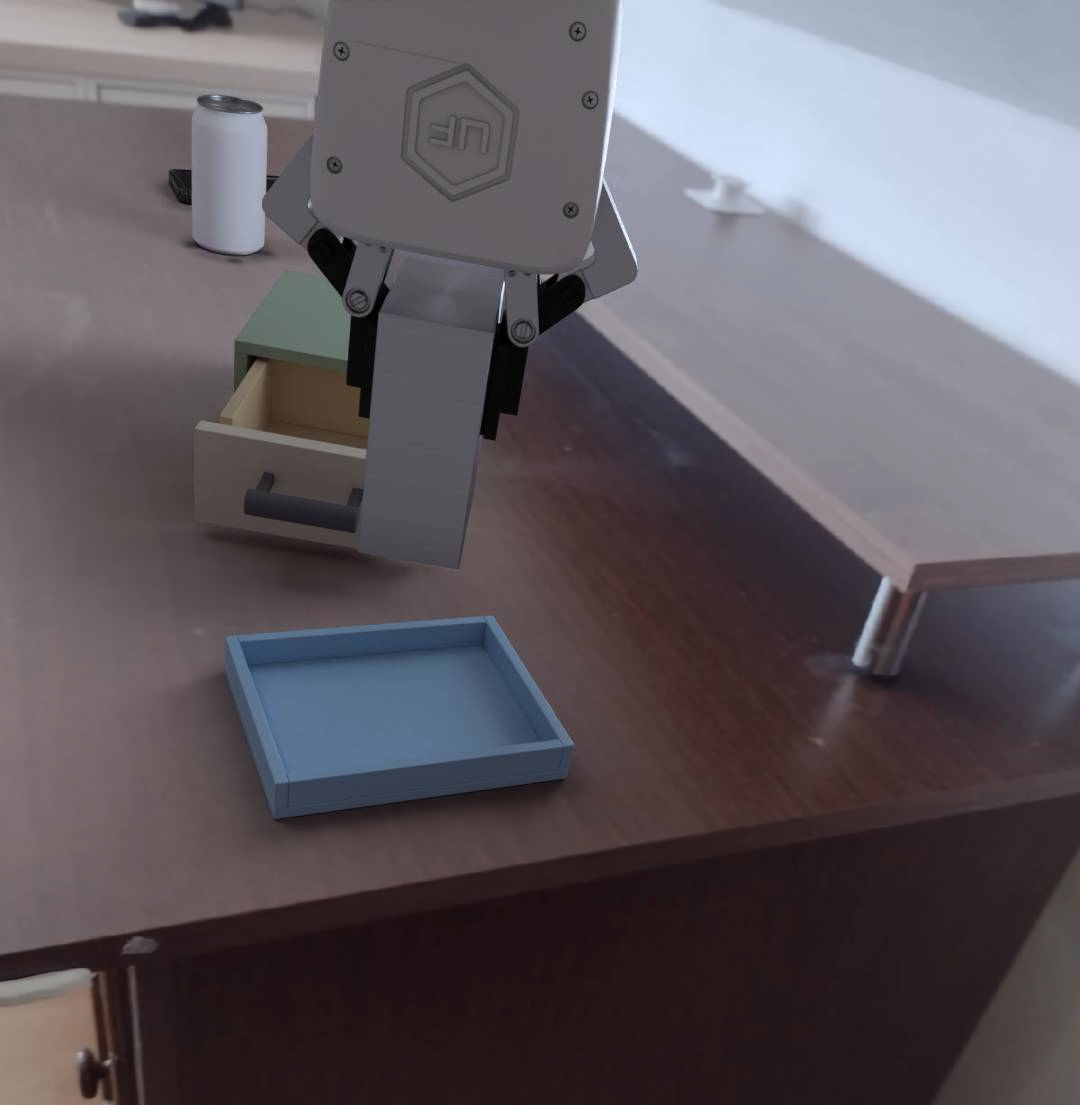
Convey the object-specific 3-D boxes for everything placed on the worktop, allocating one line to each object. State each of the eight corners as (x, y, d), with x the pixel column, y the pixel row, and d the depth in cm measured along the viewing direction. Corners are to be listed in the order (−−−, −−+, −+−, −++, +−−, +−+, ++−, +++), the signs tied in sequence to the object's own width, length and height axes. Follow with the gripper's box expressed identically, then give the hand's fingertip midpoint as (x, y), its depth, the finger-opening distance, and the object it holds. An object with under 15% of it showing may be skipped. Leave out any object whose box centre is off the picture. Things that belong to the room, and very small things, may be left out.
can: (222, 228, 114) (223, 90, 107) (278, 248, 112) (283, 109, 105) (177, 241, 109) (175, 97, 102) (235, 261, 107) (237, 116, 100)
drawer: (416, 595, 67) (427, 503, 63) (175, 554, 66) (173, 458, 62) (448, 462, 80) (459, 380, 77) (250, 427, 80) (252, 342, 76)
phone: (166, 168, 122) (310, 177, 128) (166, 179, 123) (310, 188, 129) (180, 191, 117) (330, 200, 123) (180, 203, 117) (329, 211, 123)
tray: (273, 820, 52) (275, 783, 51) (224, 670, 60) (224, 635, 58) (567, 778, 58) (575, 745, 56) (487, 646, 65) (492, 614, 64)
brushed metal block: (357, 552, 49) (378, 312, 43) (383, 478, 55) (404, 256, 49) (458, 569, 49) (493, 333, 43) (473, 494, 55) (506, 275, 49)
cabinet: (452, 491, 79) (467, 382, 75) (232, 452, 78) (234, 339, 74) (472, 405, 91) (486, 306, 86) (280, 371, 90) (285, 269, 85)
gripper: (199, -176, 34) (201, 416, 45) (764, -59, 36) (633, 492, 46) (259, -176, 40) (248, 347, 51) (741, -75, 42) (630, 416, 52)
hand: (432, 411), depth 49 cm, fingers closed on brushed metal block, 4 cm apart
